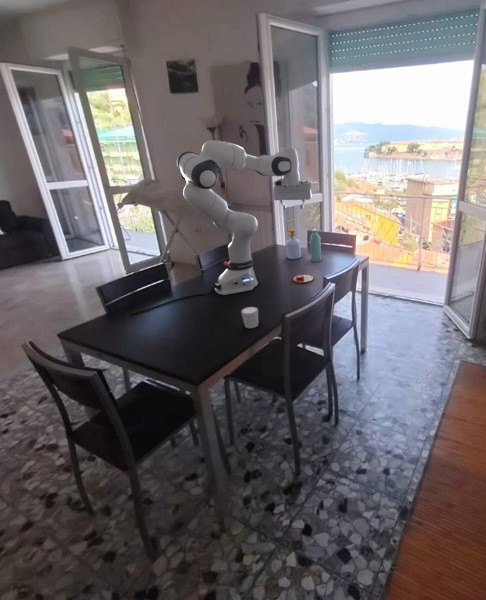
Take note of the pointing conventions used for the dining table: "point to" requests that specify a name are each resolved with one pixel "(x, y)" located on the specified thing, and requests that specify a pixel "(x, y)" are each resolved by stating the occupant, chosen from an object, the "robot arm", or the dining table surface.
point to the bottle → (315, 246)
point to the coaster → (306, 279)
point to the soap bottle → (293, 245)
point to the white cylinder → (250, 317)
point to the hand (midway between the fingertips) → (293, 208)
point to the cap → (299, 277)
